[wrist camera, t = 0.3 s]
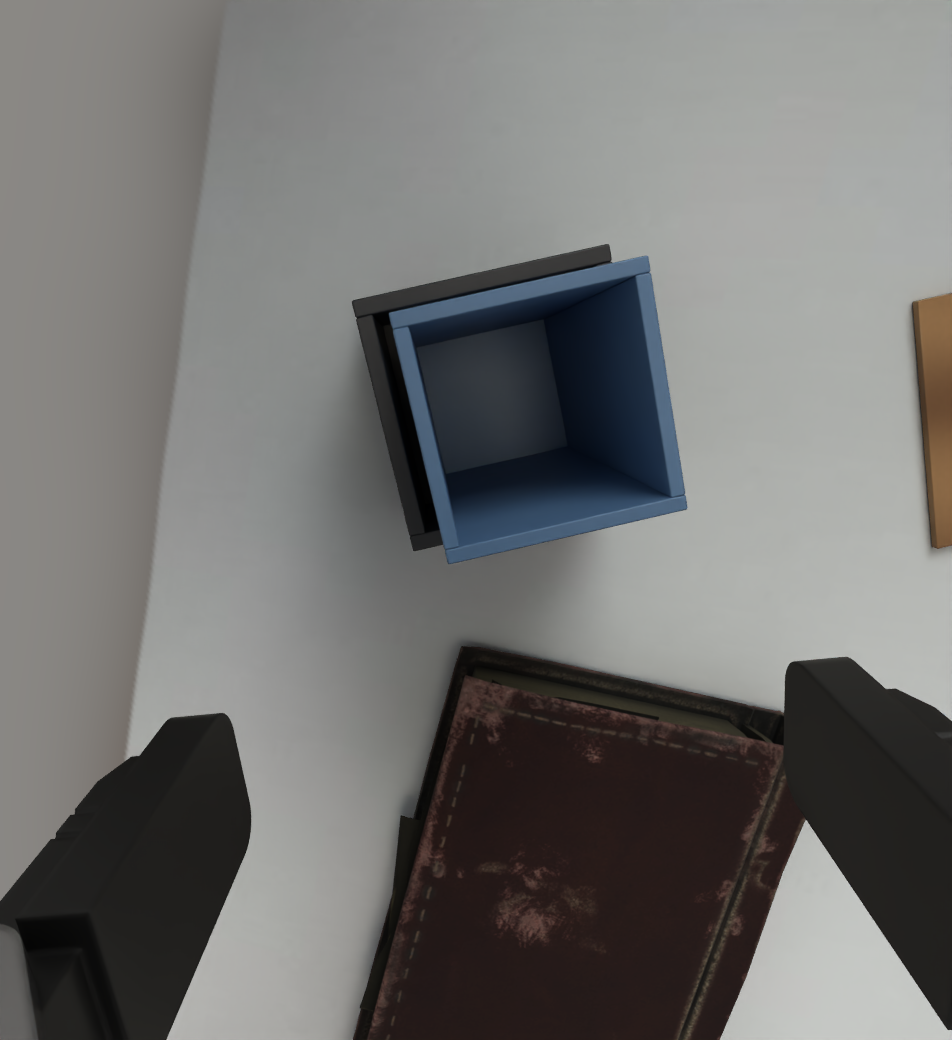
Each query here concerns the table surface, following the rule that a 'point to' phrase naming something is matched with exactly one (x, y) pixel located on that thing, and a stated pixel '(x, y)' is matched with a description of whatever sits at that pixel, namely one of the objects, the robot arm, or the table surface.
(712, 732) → the diary
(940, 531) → the cork mat
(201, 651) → the table surface
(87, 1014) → the robot arm
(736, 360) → the table surface
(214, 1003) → the table surface
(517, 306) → the blue bin
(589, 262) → the charcoal bin
